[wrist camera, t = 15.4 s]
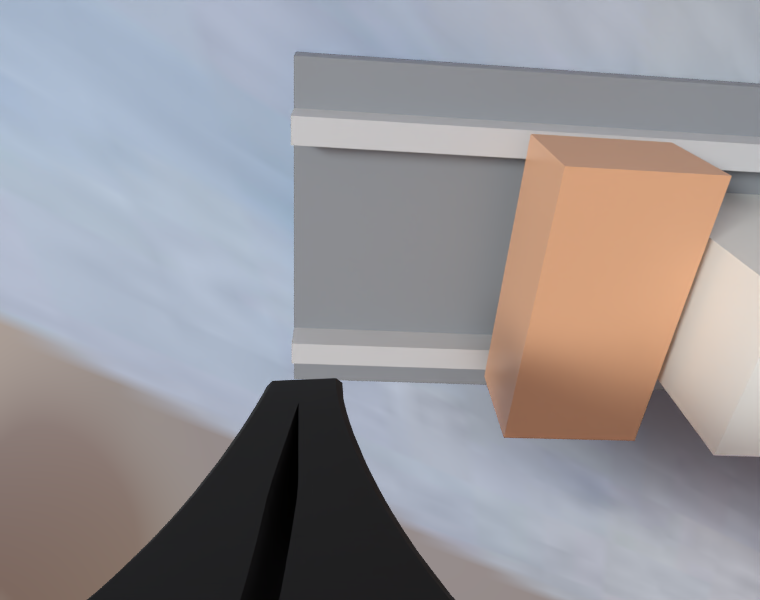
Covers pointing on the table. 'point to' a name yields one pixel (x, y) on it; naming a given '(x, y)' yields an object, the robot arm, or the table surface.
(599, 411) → the peach block
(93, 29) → the table surface
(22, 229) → the table surface
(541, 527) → the table surface
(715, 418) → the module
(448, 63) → the rail holder
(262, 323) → the table surface
